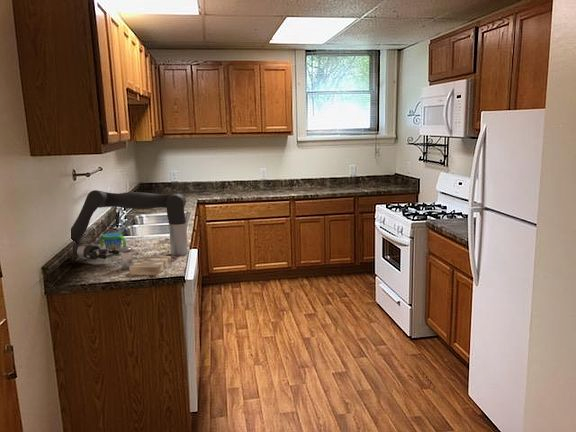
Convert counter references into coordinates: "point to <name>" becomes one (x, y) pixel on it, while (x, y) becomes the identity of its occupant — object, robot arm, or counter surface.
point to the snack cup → (113, 241)
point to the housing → (126, 257)
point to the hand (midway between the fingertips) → (112, 254)
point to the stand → (150, 265)
